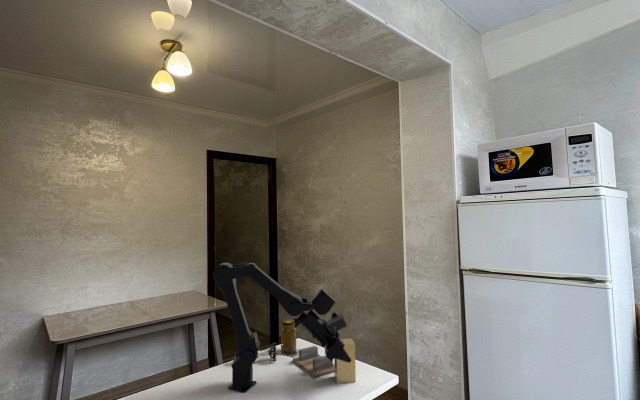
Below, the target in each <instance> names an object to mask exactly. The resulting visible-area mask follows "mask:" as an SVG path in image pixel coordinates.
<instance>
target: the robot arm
mask: <svg viewBox="0 0 640 400" xmlns="http://www.w3.org/2000/svg"><path fill="white" fill-rule="evenodd" d="M212 277H213V280H215V282H216V285H217V287H218V288H219V289H220V290H221V292H222V294H223V296H224V300H225V301H226V306H227V310H228V311H229V315H230V317H231V321H232V324H233V328H234V330H235V334H236V342H237V343H236V344H237V352H236V353H235V354H234V358H233V360H232V363H231V371H232V373H231V374H232V375H231V376H232V377H231V380H232V381H231V382H232V384H229V385H228V387H227V388H228V390H233V391H238V392H241V393H247V391H249V390H250V389H251V388H252V387H254V386H255V385H257V380H256V381H255V380H253V379H254V375H253V373H254V372H253V371H254V370H253V369H254V367H253V364H254V363H255V362H256V360H257V359H258V358H257V356H258V351H260V347H261V346H260V345H261V341H259V338H258V333H257V331H255V332H253V331H251V330H250V328H249V325H248V324H249V323H248V321H247V318H246V315H245V312H244V309H243V308H244V307H243V306H242V302H241V299H240V296H239V293H238V290H237V289H238V288H237V279H241V278H244V277H245V278H246V277H247V278H248V277H249V278H251V279H252V281H254V282H255V283H256V284H258V285H259V286H260V287H262V288H263V289H264V290H265V291H266V292H268V294H270V295H271V296H272V297H274V298H275V299H276V301H278V303H279V305H281V307H282V308H283V309H284V311H285V312H286V313H287V314H288V315H289V316H291V317H293V320H294V327H295V328H296V329H297V327H298V326H299V325H301V326H302V327H303V328H304V329H306V331H307V332H308V333H310V335H311V337H312V338H313V339H316V340H317V341H318V342H319V343H320V345H321V347H322V348H324V354H325V356H326V357H327V358H328V359H329V360H330V361H332V360H333V361H334V358H335V359H339V360H342V361H345V362H348V363H350V362H351V359H350V357H349V356H348V354H347V353H346V351H345V350H344V349H343V348H344V346H345V345H344V343H343V341H341V339H342V338H340V336H339V335H340V334H339V332H338V331H340V330H342V329H345V328H347V327H348V323H347V320H346V319H345V317H344V315H343V314H342V313H337V312H336V311H334V312H332V313H330V318H329V319H328V320H327V321H326V319H323V318H321V316H326V315H327V314H328V313H329V312H330V311H331V310H332V308H333V307H334V306H335V305H336V304H337V301H336V300H335V299H334V298H333V297H332V295H330V294H329V293H327V292H326V291H325V290H324V289H323V288H320V289H319V290H318V292H317V293H316V294H315V295H314V296H313V297H312V298H304V297H301V296H300V295H298V294H296V293H294V292H293V291H291V290H288V289H286V288H285V287H283V286H282V285H280V284H279V283H278V282H277V281H275V280H274V278H272V277H271V276H269V275H268V274H267V273H266V272H265V271H263V270H262V269H261V268H259V266H258V265H257V264H256V263H254V262H249V263H238V264H237V263H236V264H232V263H230V262H223V263H220V264H219V265H217V266H216V267H215V268H214V270H213V273H212ZM319 315H320V316H319ZM252 363H253V364H252Z"/></svg>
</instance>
